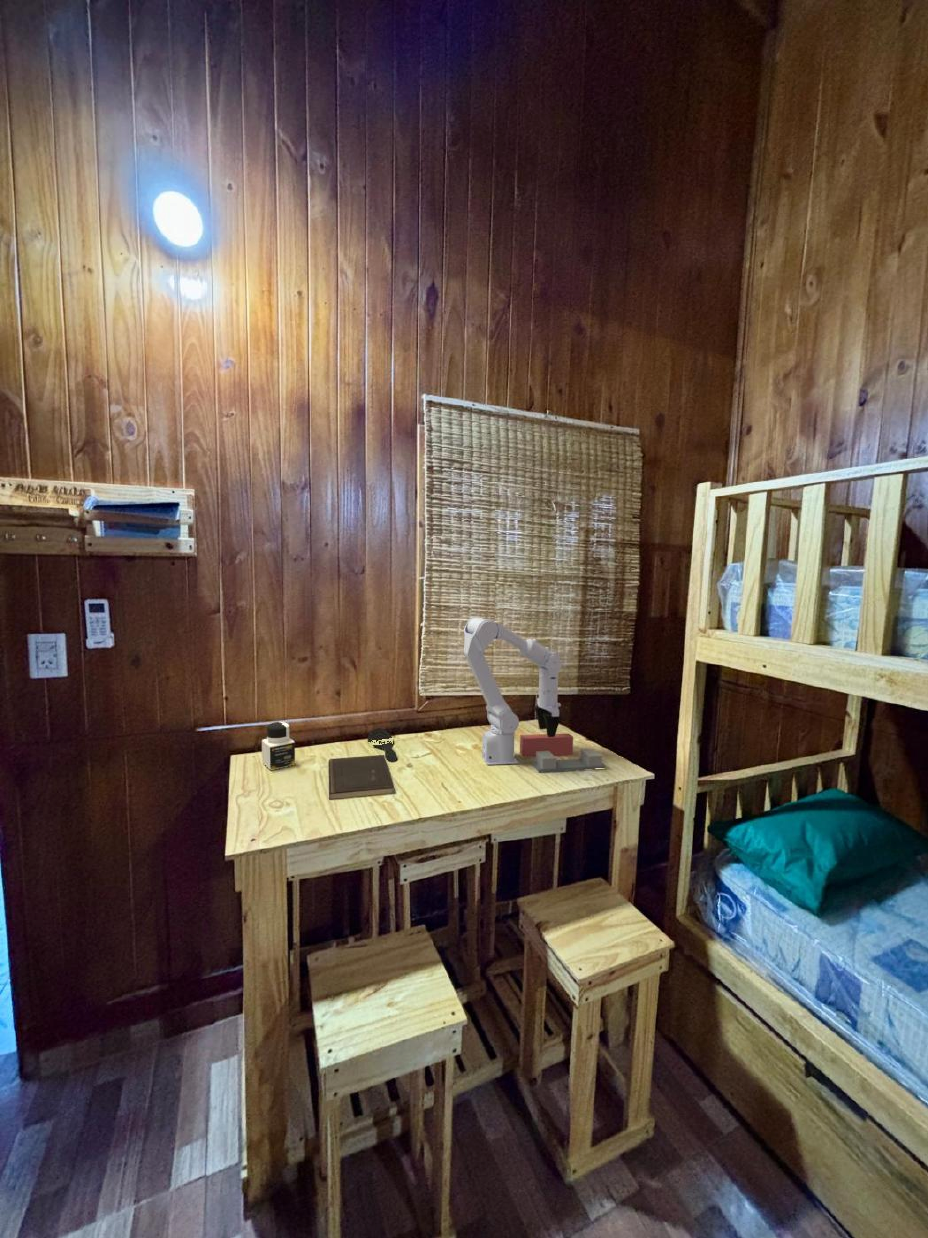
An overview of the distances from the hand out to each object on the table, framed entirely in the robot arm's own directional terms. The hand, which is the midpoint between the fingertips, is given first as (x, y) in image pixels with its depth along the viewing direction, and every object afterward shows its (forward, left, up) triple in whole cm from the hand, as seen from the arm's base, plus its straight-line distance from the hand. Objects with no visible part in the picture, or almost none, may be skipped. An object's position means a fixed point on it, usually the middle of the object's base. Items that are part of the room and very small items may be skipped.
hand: (546, 732), depth 159 cm
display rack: (+3, -11, -7) cm, 13 cm away
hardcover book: (-57, -11, -8) cm, 59 cm away
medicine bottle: (-80, +2, -7) cm, 80 cm away
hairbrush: (-50, +12, -8) cm, 51 cm away
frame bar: (0, 0, -7) cm, 7 cm away
